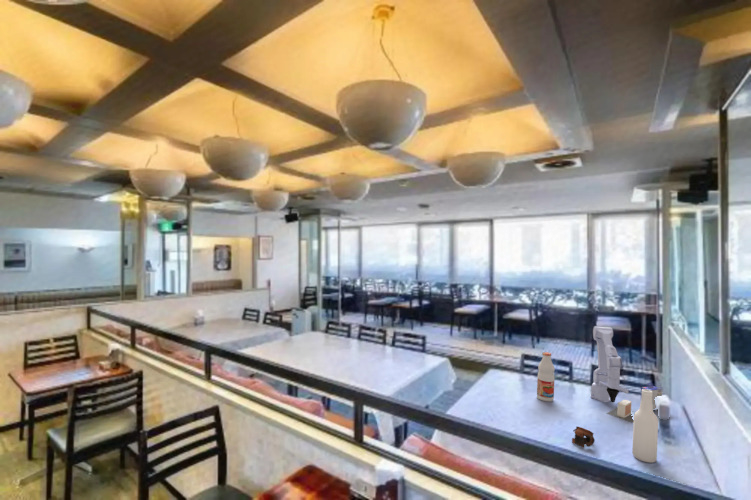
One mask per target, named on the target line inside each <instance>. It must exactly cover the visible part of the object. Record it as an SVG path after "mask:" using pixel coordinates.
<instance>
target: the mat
mask: <svg viewBox="0 0 751 500" xmlns="http://www.w3.org/2000/svg"><path fill="white" fill-rule="evenodd" d="M617 410H618V406H617V407H615V408H613V409H612V410H609V411H608V412H606V414H607V415H609V416H612V417H615V418H618V419H621V420H624V421H627V422H628V423H629V422H630V423H632V424H634V420H633V419H632V417H633V416H631V415H632V414H630V415H629V416H627V417H625V418H623V417H620V416H617Z"/></svg>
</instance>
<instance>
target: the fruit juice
mask: <svg viewBox="0 0 751 500" xmlns="http://www.w3.org/2000/svg"><path fill="white" fill-rule="evenodd" d="M541 356H542V358H541V360H540V362H539V363H538V364H537V365H538V366H537V367H538V368H537V369H538V373H537V378H536V379H537V380H536V381H537V384H536V397H537V399H538V400H540V401H542V402H547V403H548V402H550V403H551V402H553V401H554V399H555V365H554V364H553V361H552V353H551V352H547V351H544V352H542V354H541Z"/></svg>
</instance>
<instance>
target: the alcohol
mask: <svg viewBox="0 0 751 500" xmlns="http://www.w3.org/2000/svg"><path fill="white" fill-rule="evenodd" d="M641 391H642V392H641ZM641 393H642V396H641V395H640V405H639V408H638V410H636V411H635V414H634V423H632V424H633V427H632V428H633V429H632V450H631V451H632V452H631V453H632V455H633V457H634V458H635V459H637V460H638V461H640V462H644V463H648V464H649V463H650V464H654V463H655V462H657V460H658V459H657V458H658V441H659V440H658V437H659V436H658V435H659V419H658V416H657V415H656V414H655V413H654V411H653V404H652V396H653V395H652V393H653V392H652V391H651V390H648V389H642V390H641V389H640V394H641Z"/></svg>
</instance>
